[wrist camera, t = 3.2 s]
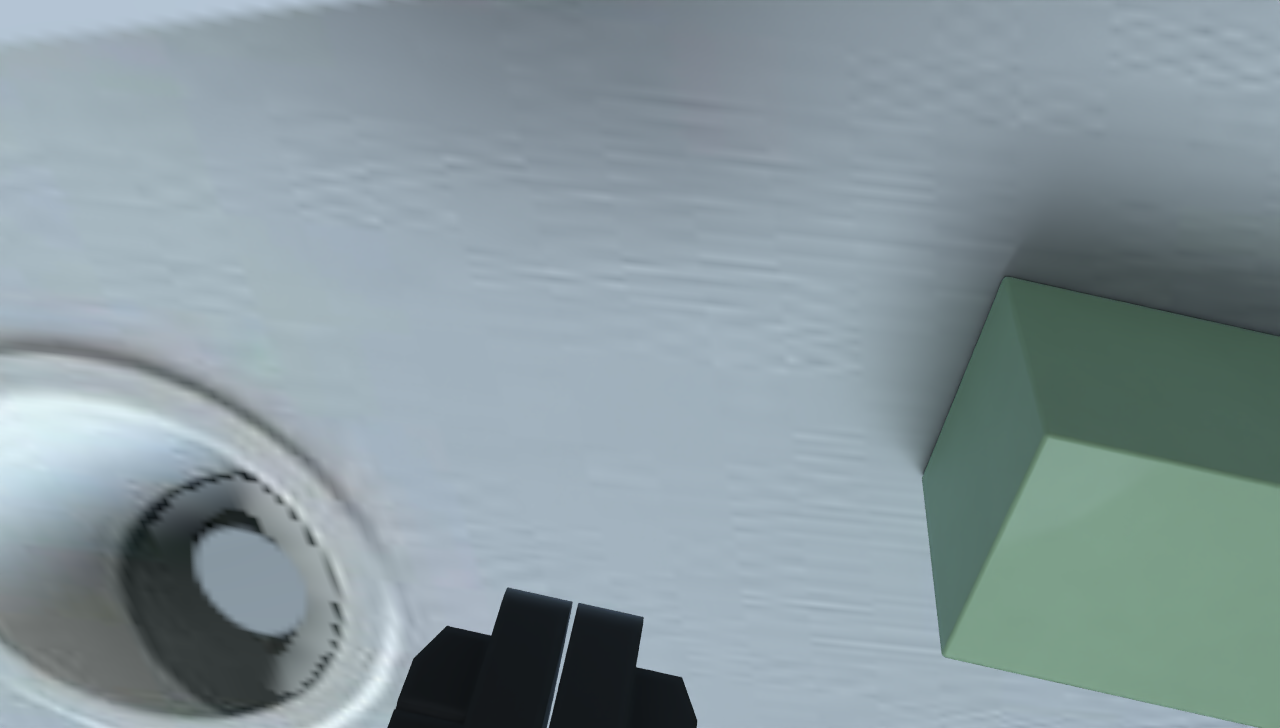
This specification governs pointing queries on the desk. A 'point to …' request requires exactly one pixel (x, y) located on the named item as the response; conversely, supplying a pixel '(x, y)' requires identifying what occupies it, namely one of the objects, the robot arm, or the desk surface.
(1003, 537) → the sage block
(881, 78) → the desk surface
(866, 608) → the desk surface
